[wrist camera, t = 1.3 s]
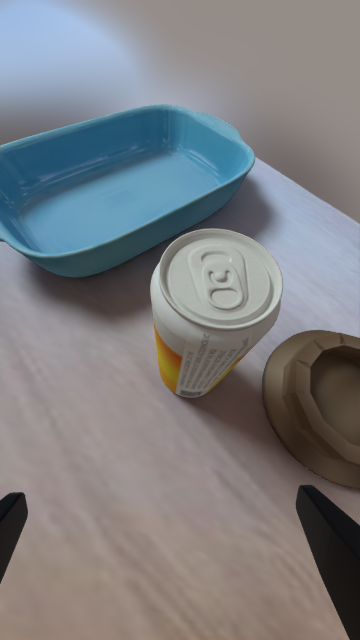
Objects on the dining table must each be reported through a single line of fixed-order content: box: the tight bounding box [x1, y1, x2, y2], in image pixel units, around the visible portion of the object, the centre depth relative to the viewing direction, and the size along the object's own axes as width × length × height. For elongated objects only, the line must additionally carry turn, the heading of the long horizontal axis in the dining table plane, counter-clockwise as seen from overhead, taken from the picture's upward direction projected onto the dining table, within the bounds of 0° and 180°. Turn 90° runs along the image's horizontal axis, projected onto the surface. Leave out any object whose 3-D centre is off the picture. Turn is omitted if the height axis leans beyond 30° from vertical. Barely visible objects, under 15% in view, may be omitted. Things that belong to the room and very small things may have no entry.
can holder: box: [262, 330, 360, 489], centre depth 21 cm, size 14×14×4 cm
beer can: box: [150, 228, 283, 398], centre depth 16 cm, size 6×6×15 cm
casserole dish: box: [0, 104, 255, 277], centre depth 31 cm, size 37×22×7 cm, turn 130°
